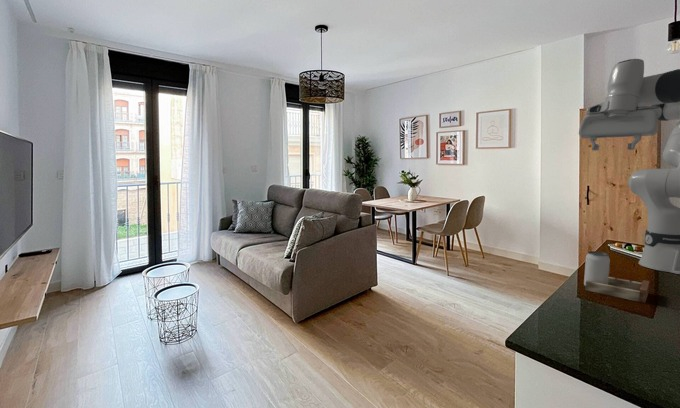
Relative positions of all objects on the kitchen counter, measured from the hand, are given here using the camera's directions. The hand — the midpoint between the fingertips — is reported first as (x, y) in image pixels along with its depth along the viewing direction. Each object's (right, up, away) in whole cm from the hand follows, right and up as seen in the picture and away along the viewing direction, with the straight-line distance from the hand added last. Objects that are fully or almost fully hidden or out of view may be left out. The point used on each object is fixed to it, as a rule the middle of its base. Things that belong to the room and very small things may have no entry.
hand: (612, 149), depth 109 cm
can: (-2, -47, +5) cm, 47 cm away
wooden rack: (+2, -47, +1) cm, 47 cm away
